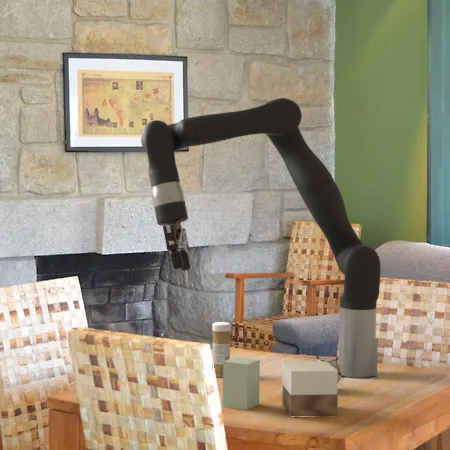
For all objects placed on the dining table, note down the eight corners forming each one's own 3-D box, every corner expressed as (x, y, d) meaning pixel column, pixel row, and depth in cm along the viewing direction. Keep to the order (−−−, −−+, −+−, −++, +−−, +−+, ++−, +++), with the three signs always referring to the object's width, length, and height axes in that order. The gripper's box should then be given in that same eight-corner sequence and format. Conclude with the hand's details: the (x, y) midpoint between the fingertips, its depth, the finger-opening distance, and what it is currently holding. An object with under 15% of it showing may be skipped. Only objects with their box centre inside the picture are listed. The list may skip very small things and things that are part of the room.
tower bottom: (326, 406, 213) (327, 384, 213) (337, 417, 203) (337, 394, 203) (282, 406, 212) (282, 384, 212) (290, 418, 202) (291, 395, 202)
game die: (331, 404, 229) (356, 371, 230) (324, 399, 221) (350, 364, 222) (302, 382, 233) (327, 349, 233) (294, 376, 225) (319, 342, 226)
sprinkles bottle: (222, 373, 245) (222, 320, 244) (233, 376, 241) (234, 323, 241) (207, 375, 242) (208, 322, 241) (219, 378, 238) (220, 324, 238)
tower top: (326, 383, 213) (326, 361, 213) (337, 394, 203) (337, 370, 203) (282, 384, 212) (282, 361, 212) (290, 394, 202) (291, 371, 202)
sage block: (222, 406, 211) (223, 361, 210) (235, 400, 216) (235, 356, 215) (246, 410, 208) (247, 364, 207) (259, 404, 213) (259, 359, 213)
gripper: (178, 196, 223) (191, 264, 222) (190, 203, 237) (203, 267, 236) (147, 203, 224) (160, 271, 223) (161, 209, 238) (174, 273, 237)
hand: (182, 269), depth 229 cm, fingers open, 8 cm apart
